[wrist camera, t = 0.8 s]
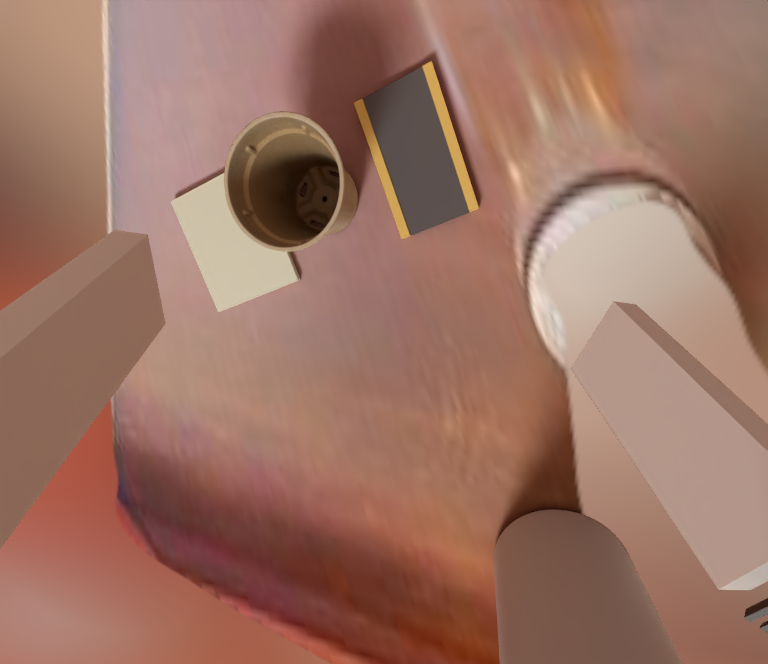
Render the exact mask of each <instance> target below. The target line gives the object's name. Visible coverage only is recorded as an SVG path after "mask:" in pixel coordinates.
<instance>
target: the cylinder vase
mask: <svg viewBox="0 0 768 664" xmlns="http://www.w3.org/2000/svg"><path fill="white" fill-rule="evenodd" d="M494 572H495V589H496V605H497V621H498V637H499V653H500V664H683V662H682V660H681V658H680V656H679V654H678V652H677V650H676V648H675V646H674V644H673V642H672V640H671V638H670V636H669V634H668V632H667V630H666V628H665V626H664V624H663V622H662V620H661V618H660V616H659V614H658V612H657V610H656V608H655V606H654V604H653V602H652V600H651V598H650V596H649V594H648V593H647V591H646V588H645V586H644V584H643V582H642V580H641V578H640V576H639V574H638V572H637V570H636V568H635V566H634V564H633V562H632V561H631V558H630V556H629V554H628V552H627V550H626V549H625V547H624V545H623V544H622V543H621V541H620V540H619V539H618V538H617V537H616V535H615V534H613V533H612V532H611V531H610V530H609V529H608V528H607V527H605V526H604V525H602V524H601V523H599V522H598V521H595V520H594V519H592V518H590V517H588V516H585V515H582V514H579V513H576V512H572V511H567V510H556V509H551V510H541V511H536V512H532V513H529V514H526V515H524V516H522V517H520V518H518V519H516V520H515V521H513V522H512V523H511V524H510V525H508V526H507V527H506V529H505V530H504V531H503V532H502V534H501V535H500V537H499V539H498V541H497V543H496V546H495V551H494Z"/></svg>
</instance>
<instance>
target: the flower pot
mask: <svg viewBox="0 0 768 664" xmlns="http://www.w3.org/2000/svg"><path fill="white" fill-rule="evenodd" d="M330 171H332V172H335V173H338V174H339V176H340V178H338V177H334V176H333V175H332V174H330ZM305 183H306V184H307V185H308V187H307V190H306V192H305V196H301V190H302V188H303V186H304V184H305ZM224 188H225V196H226V201H227V205H228V207H229V210H230V212H231V215H232V216H233V218H234V220H235V222H236V223H237V225H238V226H239V227H240V229H241V230H242V231H243V232H244V233H245V234H246V235H247V236H248V237H249V238H251V239H252V240H253V241H254V242H256V243H258V244H260V245H261V246H263V247H266V248H268V249H272V250H275V251H282V252H290V251H297V250H301V249H304V248H307V247H309V246H311V245H313V244H315V243H316V242H318V241H319V240H320V239H321V238H323V237H324V236H325V235H328V234H333V233H336V232H339V231H340V230H342V229H343V228H345V227H346V226H347V225H348V224H349V223H350V222H351V220H352V219H353V217H354V215H355V212H356V209H357V204H358V194H357V190H356V186H355V183H354V181H353V179H352V177H351V176H350V175H349V174H348V172H347V171H346V170H345V169H344V167H343V162H342V159H341V156H340V153H339V151H338V149H337V147H336V145H335V144H334V142H333V140H332V139H331V137H330V136H329V135H328V134H327V133H326V132H325V130H324V129H323V128H322V127H321V126H319V125H318V124H317V123H316V122H314V121H313V120H311V119H310V118H308V117H305V116H303V115H301V114H296V113H292V112H284V111H280V112H273V113H268V114H265V115H263V116H261V117H259V118H256V119H255V120H253V121H252V122H251V123H249V124H248V125H247V126H246V127H245V128H244V129H243V130H242V131H241V132H240V133H239V135H238V136H237V137H236V139H235V140H234V142H233V144H232V146H231V148H230V150H229V153H228V156H227V160H226V164H225V171H224ZM323 197H326V198H327V201H325V202H324V201H323V200H322V199H323ZM312 220H315V221H316V222H318V223H320V224H323V227H317V226H314V225H313V224H312V223H311V221H312Z"/></svg>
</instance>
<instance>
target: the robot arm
mask: <svg viewBox="0 0 768 664" xmlns="http://www.w3.org/2000/svg"><path fill="white" fill-rule="evenodd" d="M164 325H165V319H164V314H163V309H162V304H161V299H160V294H159V289H158V284H157V279H156V274H155V269H154V264H153V259H152V254H151V249H150V244H149V239H148V235H146V234H139V233H132V232H125V231H118V230H114V231H113V232H111V233H110V234H108V235H107V236H106V237H104V238H103V239H101V240H100V241H99V242H97V243H96V244H94V245H93V246H91V247H90V248H89V249H87V250H86V251H84V252H83V253H81V254H80V255H79V256H77V257H76V258H74V259H73V260H72V261H70V262H69V263H67V264H66V265H64V266H63V267H62V268H60V269H59V270H57V271H56V272H55V273H53V274H52V275H51V276H49V277H47V278H46V279H45V280H43V281H42V282H40V283H39V284H38V285H36V286H35V287H33V288H32V289H31V290H29V291H28V292H26V293H25V294H23V295H22V296H21V297H19V298H18V299H16V300H15V301H14V302H12V303H11V304H9V305H8V306H6V307H5V308H4V309H2V310H1V311H0V548H1V547H2V546H3V544H4V543H5V542H6V540H7V539H8V537H9V536H10V535H11V533H12V532H13V531H14V529H15V528H16V527H17V525H18V524H19V523H20V521H21V520H22V519H23V517H24V516H25V514H26V513H27V512H28V510H29V509H30V508H31V506H32V505H33V503H34V502H35V501H36V499H37V498H38V497H39V495H40V494H41V493H42V491H43V490H44V489H45V487H46V486H47V484H48V483H49V482H50V480H51V479H52V478H53V476H54V475H55V473H56V472H57V471H58V469H59V468H60V467H61V465H62V464H63V463H64V461H65V460H66V458H67V457H68V456H69V454H70V453H71V451H72V450H73V449H74V447H75V446H76V445H77V443H78V442H79V440H80V439H81V438H82V437H83V435H84V434H85V432H86V431H87V430H88V428H89V427H90V426H91V424H92V423H93V421H94V420H95V419H96V417H97V416H98V415H99V413H100V412H101V411H102V409H103V408H104V407H105V405H106V404H107V402H108V401H109V400H110V398H111V397H112V396H113V394H114V393H115V392H116V390H117V389H118V387H119V386H120V385H121V383H122V382H123V381H124V379H125V378H126V377H127V375H128V374H129V372H130V371H131V370H132V368H133V367H134V366H135V364H136V363H137V362H138V360H139V359H140V357H141V356H142V355H143V353H144V352H145V351H146V349H147V348H148V346H149V345H150V344H151V342H152V341H153V340H154V338H155V337H156V336H157V334H158V333H159V331H160V330H161V329H162V327H163V326H164ZM571 370H572V371H573V373H574V374H575V376H576V377H577V378H578V380H579V381H580V383H581V385H582V386H583V388H584V389H585V391H586V392H587V393H588V395H589V396H590V398H591V400H592V401H593V403H594V404H595V406H596V407H597V409H598V410H599V412H600V413H601V414H602V416H603V418H604V419H605V420H606V422H607V423H608V425H609V426H610V428H611V430H612V431H613V432H614V434H615V435H616V437H617V438H618V440H619V441H620V443H621V444H622V446H623V447H624V449H625V450H626V452H627V453H628V455H629V456H630V458H631V459H632V461H633V462H634V464H635V465H636V467H637V468H638V470H639V471H640V473H641V474H642V476H643V477H644V479H645V480H646V482H647V483H648V485H649V486H650V488H651V489H652V491H653V492H654V494H655V495H656V497H657V498H658V500H659V501H660V503H661V504H662V506H663V507H664V508H665V510H666V512H667V513H668V515H669V516H670V518H671V519H672V521H673V522H674V524H675V525H676V527H677V528H678V530H679V531H680V533H681V534H682V535H683V537H684V538H685V540H686V541H687V543H688V545H689V546H690V548H691V549H692V550H693V552H694V553H695V555H696V556H697V558H698V559H699V561H700V562H701V564H702V565H703V566H704V568H705V570H706V571H707V573H708V574H709V576H710V577H711V579H712V580H713V582H714V583H715V585H716V586H717V588H718V589H720V590H721V589H722V590H751V589H753V588H755V587H757V586H759V585H761V584H763V583H765V582H767V581H768V424H767V423H766V422H765V421H764V420H763V419H761V418H760V417H759V416H758V415H757V414H756V413H755V412H754V411H753V410H752V409H750V408H749V407H748V406H747V405H746V404H745V403H744V402H743V401H741V400H740V399H739V398H738V397H737V396H736V395H735V394H734V393H733V392H732V391H730V390H729V389H728V388H727V387H726V386H725V385H724V384H723V383H722V382H721V381H720V380H718V379H717V378H716V377H715V376H714V375H713V374H712V373H711V372H710V371H709V370H707V369H706V368H705V367H704V366H703V365H702V364H701V363H700V362H699V361H697V360H696V359H695V358H694V357H693V356H692V355H691V354H690V353H689V352H688V351H686V350H685V349H684V348H683V347H682V346H681V345H680V344H679V343H678V342H677V341H675V340H674V339H673V338H672V337H671V336H670V335H669V334H667V332H665V331H664V330H663V329H662V328H661V327H660V326H659V325H658V324H657V323H656V322H654V321H653V320H652V319H651V318H650V317H649V316H648V315H647V314H646V313H645V312H643V311H642V310H641V309H640V308H639V307H638V306H637V305H634V304H627V303H620V302H613V303H612V305H611V306H610V308H609V310H608V311H607V313H606V315H605V316H604V318H603V319H602V321H601V322H600V324H599V325H598V327H597V328H596V330H595V332H594V333H593V335H592V336H591V338H590V340H589V341H588V343H587V344H586V346H585V347H584V349H583V350H582V352H581V354H580V355H579V357H578V358H577V360H576V361H575V363H574V365H573V366H572V368H571ZM767 614H768V598H767V599H765V600H763V601H761V602H759V603H757V604H755V605H753V606H751V607H749V608H747V609H746V612H745V617H744V618H746V619H747V620H749V621H750V622H751V621H754V620H756V619H758V618H760V617H762V616H765V615H767ZM760 628H761V629H762V630H764V631H765V632H767V633H768V621H766V622H764V623H763V624H762V625H761V626H760Z"/></svg>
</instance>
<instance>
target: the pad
mask: <svg viewBox="0 0 768 664" xmlns="http://www.w3.org/2000/svg"><path fill="white" fill-rule="evenodd" d="M171 204H172V206H173V208H174V211H175V213H176V215H177V217H178V220H179V222H180V224H181V227H182V229H183V231H184V234H185V236H186V238H187V241H188V243H189V245H190V248H191V250H192V252H193V255H194V257H195V259H196V262H197V264H198V266H199V268H200V271H201V273H202V275H203V278H204V280H205V282H206V285H207V287H208V289H209V292H210V294H211V296H212V299H213V301H214V303H215V306H216V308H217V310H218V312H221V311H224V310H226V309H229V308H231V307H234V306H236V305H239V304H241V303H244V302H246V301H249V300H251V299H254V298H256V297H259V296H261V295H264V294H266V293H269V292H271V291H274V290H276V289H279V288H281V287H284V286H286V285H289V284H291V283H294V282H296V281H299V280H301V279H300V277H299V274H298V271H297V269H296V266H295V264H294V261H293V259H292V256H291V254H290V252H282V251H275V250H272V249H268V248H266V247H263V246H261V245H260V244H258V243H256V242H254V241H253V240H252V239H251V238H249V237H248V236H247V235H246V234H245V233H244V232H243V231H242V230H241V229H240V227H239V226H238V225H237V223H236V222H235V220H234V218H233V216H232V215H231V212H230V210H229V207H228V205H227V201H226V196H225V188H224V173H223V174H221V175H219V176H217V177H215V178H214V179H212V180H210V181H208V182H206V183H204V184H202V185H200V186H199V187H197V188H195V189H193V190H191V191H189V192H187V193H186V194H184V195H182V196H180V197H178V198H176V199H174V200H172V201H171Z"/></svg>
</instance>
